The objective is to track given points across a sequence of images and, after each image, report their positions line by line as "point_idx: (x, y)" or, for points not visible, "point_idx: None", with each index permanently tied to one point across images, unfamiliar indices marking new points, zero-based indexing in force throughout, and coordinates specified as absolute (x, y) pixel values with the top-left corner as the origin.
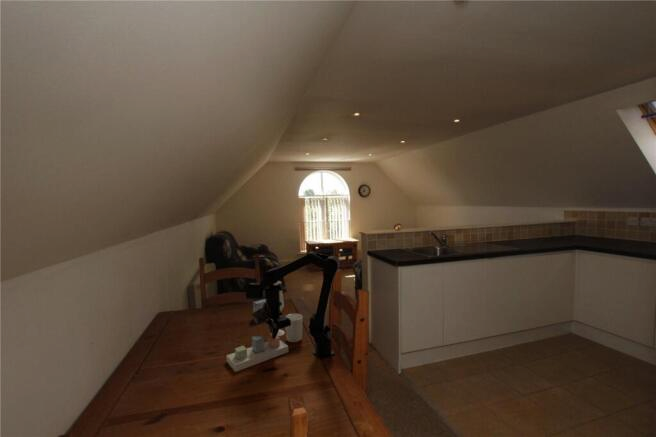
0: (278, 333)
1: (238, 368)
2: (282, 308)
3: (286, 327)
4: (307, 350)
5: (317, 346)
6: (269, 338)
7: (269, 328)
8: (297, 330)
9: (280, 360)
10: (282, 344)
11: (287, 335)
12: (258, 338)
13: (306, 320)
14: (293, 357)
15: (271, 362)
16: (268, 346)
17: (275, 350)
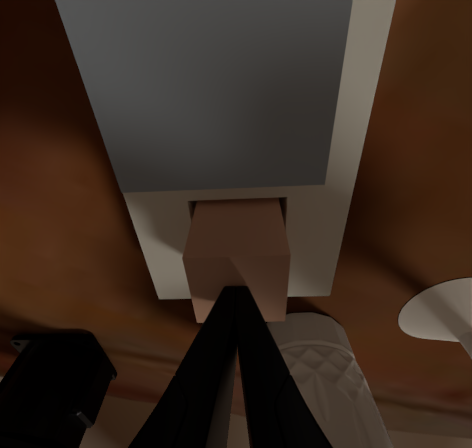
0: (427, 315)
1: None
2: None
3: (327, 410)
4: (134, 329)
5: (21, 389)
6: (253, 256)
7: (296, 397)
8: None
9: (74, 185)
10: None
11: (312, 344)
12: (129, 63)
13: (414, 417)
14: (86, 260)
15: (64, 114)
16: (245, 190)
17: (129, 208)
